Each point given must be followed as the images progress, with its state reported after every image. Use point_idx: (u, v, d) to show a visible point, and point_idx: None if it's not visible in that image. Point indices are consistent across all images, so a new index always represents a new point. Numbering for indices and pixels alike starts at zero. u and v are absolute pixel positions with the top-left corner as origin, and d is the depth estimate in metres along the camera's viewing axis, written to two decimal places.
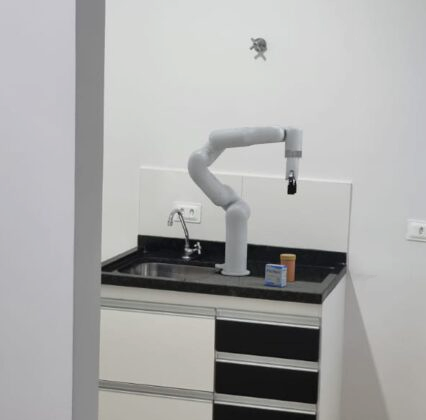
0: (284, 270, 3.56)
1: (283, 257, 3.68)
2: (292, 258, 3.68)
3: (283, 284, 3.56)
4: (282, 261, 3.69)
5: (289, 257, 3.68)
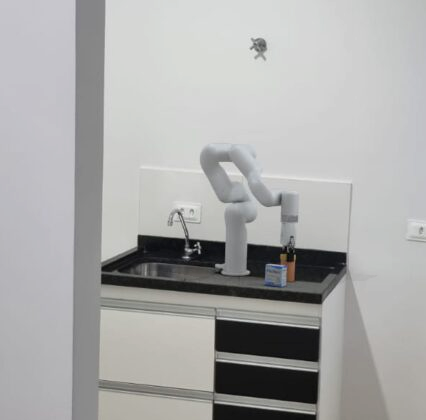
0: (284, 270, 3.56)
1: (283, 257, 3.68)
2: None
3: (283, 284, 3.56)
4: (282, 261, 3.69)
5: None
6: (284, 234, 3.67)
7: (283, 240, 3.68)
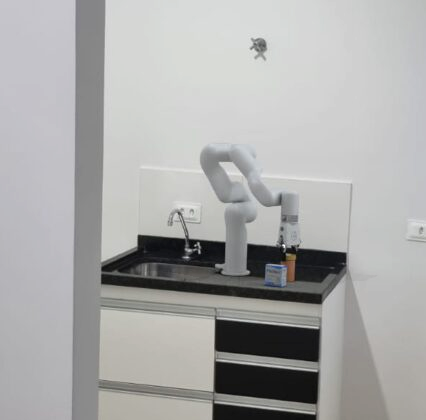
0: (284, 270, 3.56)
1: (295, 256, 3.71)
2: None
3: (283, 284, 3.56)
4: (282, 261, 3.69)
5: None
6: (298, 233, 3.71)
7: (296, 240, 3.70)
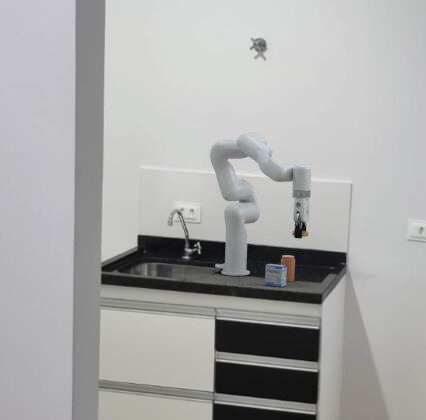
0: (284, 270, 3.56)
1: None
2: None
3: (283, 284, 3.56)
4: (282, 261, 3.69)
5: None
6: (308, 209, 3.62)
7: (308, 216, 3.61)
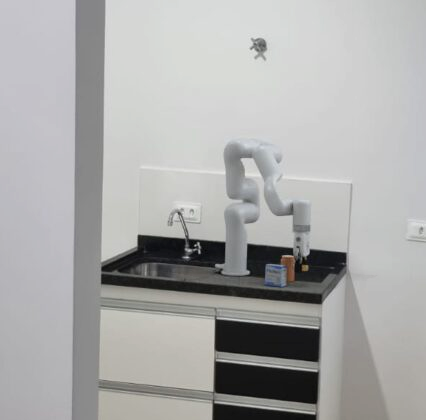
0: (284, 270, 3.56)
1: None
2: None
3: (283, 284, 3.56)
4: (282, 261, 3.69)
5: None
6: (308, 243, 3.62)
7: (308, 250, 3.61)
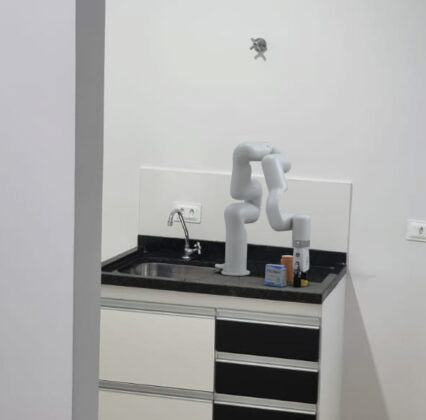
0: (284, 270, 3.56)
1: None
2: None
3: (283, 284, 3.56)
4: (282, 261, 3.69)
5: None
6: (308, 258, 3.63)
7: (307, 265, 3.62)
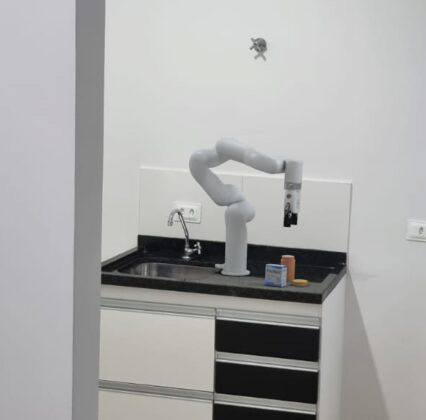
0: (284, 270, 3.56)
1: None
2: None
3: (283, 284, 3.56)
4: (282, 261, 3.69)
5: None
6: (299, 201, 3.74)
7: (298, 207, 3.73)
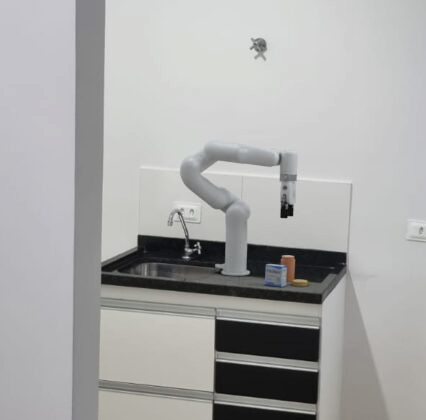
0: (284, 270, 3.56)
1: None
2: None
3: (283, 284, 3.56)
4: (282, 261, 3.69)
5: None
6: (295, 192, 3.81)
7: (294, 198, 3.80)
